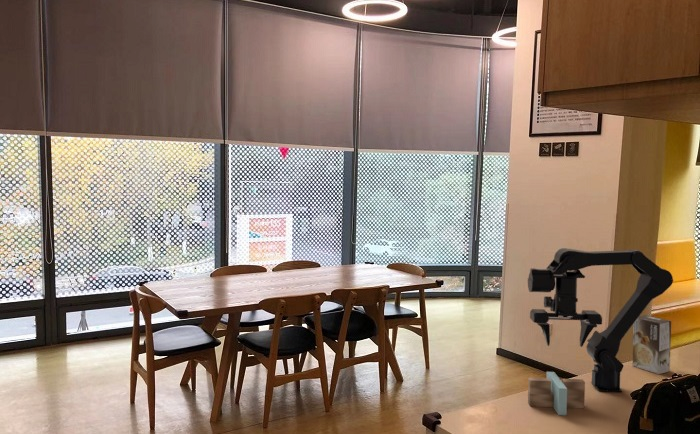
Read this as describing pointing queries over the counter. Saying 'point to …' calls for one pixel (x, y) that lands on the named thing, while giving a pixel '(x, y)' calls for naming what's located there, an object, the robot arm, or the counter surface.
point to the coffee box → (652, 344)
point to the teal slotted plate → (558, 393)
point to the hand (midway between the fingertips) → (564, 345)
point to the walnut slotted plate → (545, 398)
